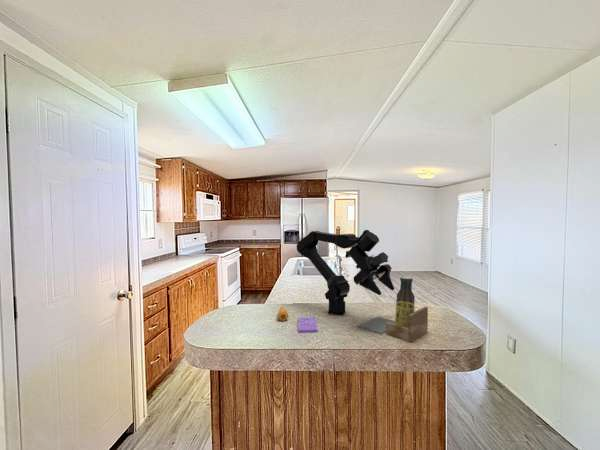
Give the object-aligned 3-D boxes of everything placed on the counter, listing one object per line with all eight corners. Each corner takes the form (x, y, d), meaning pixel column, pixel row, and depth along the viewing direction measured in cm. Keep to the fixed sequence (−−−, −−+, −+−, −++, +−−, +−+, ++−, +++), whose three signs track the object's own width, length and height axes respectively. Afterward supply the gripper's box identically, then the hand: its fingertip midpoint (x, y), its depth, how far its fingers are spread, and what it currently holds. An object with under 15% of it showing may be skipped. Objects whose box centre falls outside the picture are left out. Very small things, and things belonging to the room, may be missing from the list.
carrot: (286, 324, 119) (290, 313, 120) (275, 320, 119) (279, 309, 119) (284, 312, 139) (288, 303, 139) (275, 309, 139) (279, 299, 139)
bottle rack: (385, 334, 106) (385, 309, 106) (402, 325, 115) (402, 301, 114) (411, 342, 99) (411, 315, 99) (427, 332, 108) (427, 307, 107)
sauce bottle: (394, 334, 106) (394, 278, 105) (395, 328, 112) (395, 274, 111) (414, 337, 103) (414, 279, 103) (414, 330, 109) (415, 276, 108)
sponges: (315, 321, 121) (315, 316, 121) (317, 334, 108) (317, 329, 108) (297, 321, 121) (297, 316, 121) (298, 334, 108) (298, 329, 108)
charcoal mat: (357, 326, 113) (357, 325, 113) (378, 317, 123) (378, 316, 123) (381, 334, 106) (381, 333, 106) (401, 323, 116) (401, 322, 116)
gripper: (360, 248, 109) (387, 283, 101) (387, 244, 122) (413, 275, 114) (342, 267, 115) (367, 302, 107) (370, 261, 128) (394, 292, 120)
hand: (387, 292), depth 112 cm, fingers open, 9 cm apart
